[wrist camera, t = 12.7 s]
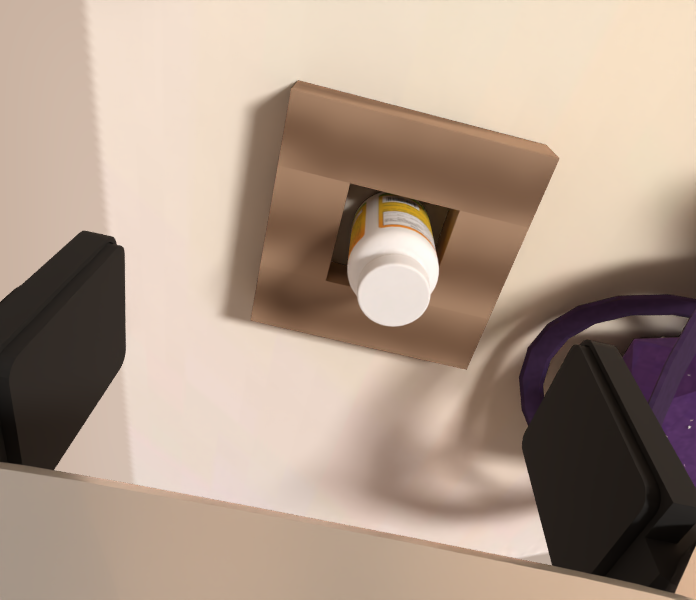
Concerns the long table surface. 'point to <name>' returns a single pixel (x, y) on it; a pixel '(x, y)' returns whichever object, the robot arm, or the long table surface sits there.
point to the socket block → (404, 180)
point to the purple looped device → (632, 363)
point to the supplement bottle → (392, 259)
